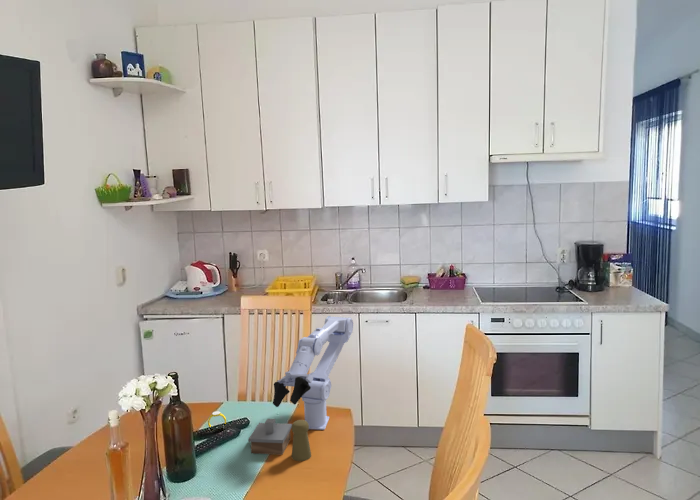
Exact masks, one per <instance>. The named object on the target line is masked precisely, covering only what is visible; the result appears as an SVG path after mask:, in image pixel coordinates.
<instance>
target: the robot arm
mask: <svg viewBox="0 0 700 500" xmlns="http://www.w3.org/2000/svg"><path fill="white" fill-rule="evenodd" d="M353 329H354V321H353V319H352V317H344V316H342V317H341V316H331V315H328V316H327V317H326V318H325V320H324V324H323V326H322V327H316V328H315V330H313V331H312V332H311V333H310V334H309V335H308V336H303V337H302V338H300V339H299V340H298V343H297V349H296V350H295V351H296V352H295V354H296V355H295V357H294V360H293V361H292V364H291V366H290V368H289V370H287V371H285V373H284V376H283V377H282V378H280V379H278V380H277V381H275V382H274V383H273V390H274V393H273V400H272V404H273V405H274V406H275V408H279V407H280V405H281V404H282V402H283V401H284V398H285V397H286V396H287V395H288V394H289V393H290V390H289V389H288V388H287V387H292V388H293V390H292V393H291V395H290V398H289V399H290V403H292V404H293V405H297V403H298V402H299V401H300V399H301V401H302V402H303V407H304V420H305V421H307V423H308V425H309V429H308V430H321V431H322V430H323V431H324V430H326V427H327V425H328V422H329V419H330V416H328V415H327V400H328V398H329V396H330V394H331V389H332V381H331V379H330V378H329V376H330V374H331V372H332V370H333V368H334V366H335V363H336V362H337V359H338V357H339V356H340V354H341V351H342V350H343V347H344V345H345V344H346V343H347V342H348V341H349V340H350V338H351V336H352V333H353ZM326 343H328V345H327V347H326V349H325V350H324V353H323V354H322V356H321V358H320V361H319V362H318V364H317V366H316V368H315V370H314V371H313V372H310V373H309V370H310V368H311V366H312V364H313V361H314V359H315V357H316V356H320V354H321V351H322V348H323V347H324V345H325V344H326Z"/></svg>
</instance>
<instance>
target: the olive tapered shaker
mask: <svg viewBox="0 0 700 500" xmlns="http://www.w3.org/2000/svg"><path fill="white" fill-rule="evenodd" d="M291 424H292V428H291V431H292V433H293V434H292V435H293V438H292V449H291V459H292V460H293V461H297V462H304V461H308V460H310V459H311V457H312V452H311V451H312V449H311V444H310V441H309V433H308V432H309V430H310V429H309V425H308V423H307V421H305V419H298V420H295V421H294V422H292V423H291Z"/></svg>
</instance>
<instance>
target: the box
mask: <svg viewBox="0 0 700 500" xmlns="http://www.w3.org/2000/svg"><path fill="white" fill-rule="evenodd" d="M291 439H292V437H291V431H290V432H289V433H288V435H287V437H286V439H285V441H284V443H266V442H250V453H251V454H260V455H280V456H281V455H282V456H283V454H284V453H285V450H286V449H287V447H288V446H289V445H288V444H289V443H290V441H291Z"/></svg>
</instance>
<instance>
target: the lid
mask: <svg viewBox="0 0 700 500" xmlns="http://www.w3.org/2000/svg"><path fill="white" fill-rule="evenodd" d="M292 424H293V423H282V422H280V423H279V422H277V423H276V418H267V419H266V420H265V422H259V423H258V424H257V426H255V428H254V429H253V431H252V433H251V434H250V436H249V437H248V442H249V443H251V442H266V443H284V441H285V439H286V437H287V435H288V433H289V432H290V433H291V431H292Z"/></svg>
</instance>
